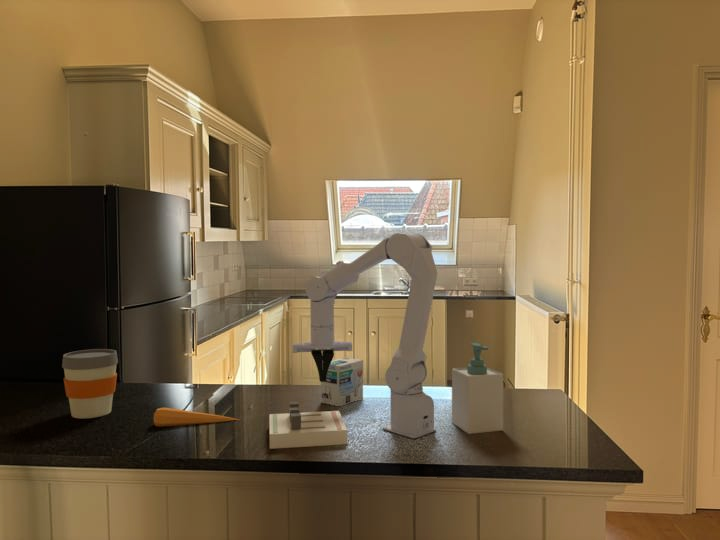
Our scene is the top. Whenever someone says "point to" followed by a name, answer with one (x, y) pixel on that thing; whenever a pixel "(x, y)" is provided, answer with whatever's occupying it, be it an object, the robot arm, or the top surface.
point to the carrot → (185, 417)
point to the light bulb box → (343, 382)
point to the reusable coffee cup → (90, 381)
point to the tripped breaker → (293, 411)
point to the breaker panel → (306, 429)
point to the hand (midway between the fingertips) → (322, 380)
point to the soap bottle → (477, 396)
